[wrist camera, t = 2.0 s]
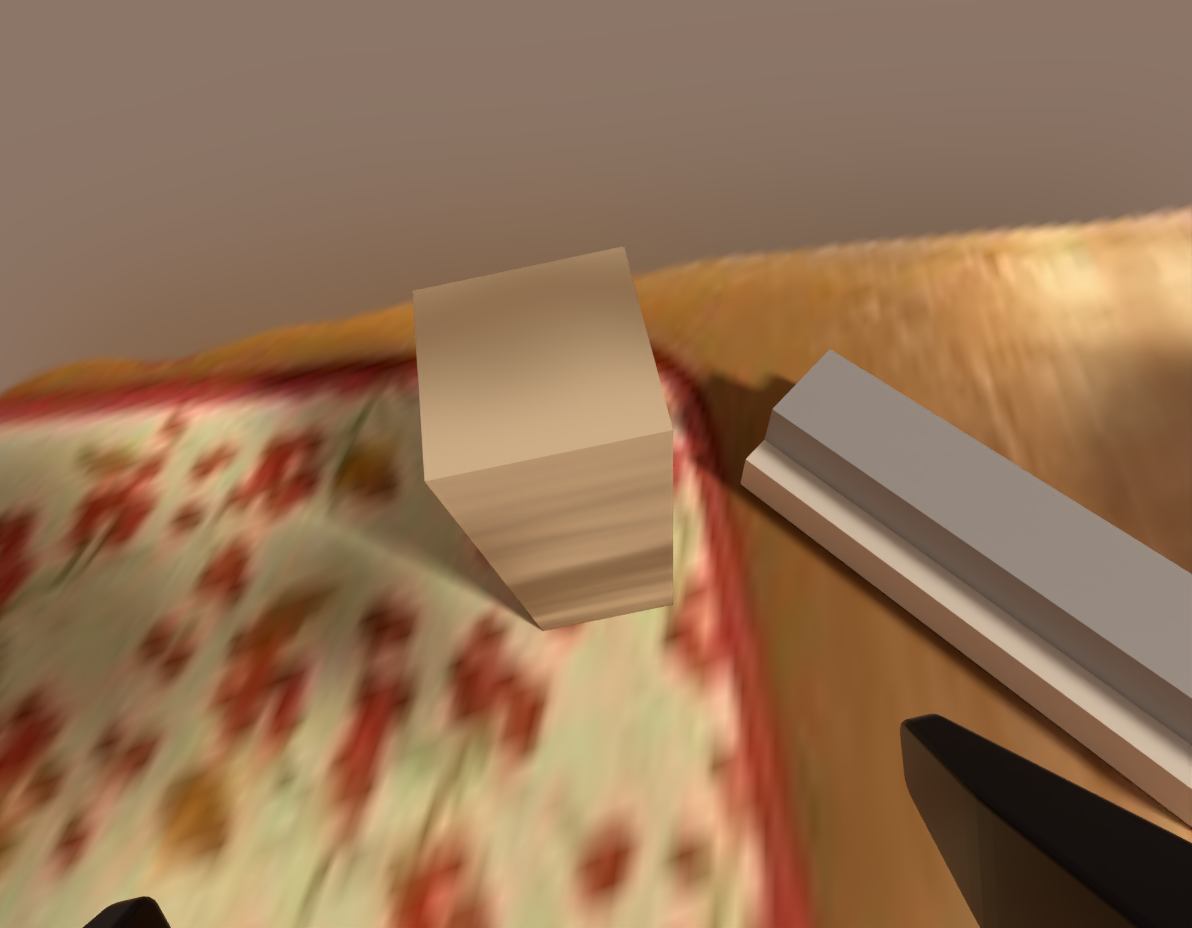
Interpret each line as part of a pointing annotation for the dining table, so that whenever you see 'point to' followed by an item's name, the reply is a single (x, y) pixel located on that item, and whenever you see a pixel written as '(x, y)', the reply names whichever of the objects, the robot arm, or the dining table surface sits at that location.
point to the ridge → (993, 566)
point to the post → (551, 434)
